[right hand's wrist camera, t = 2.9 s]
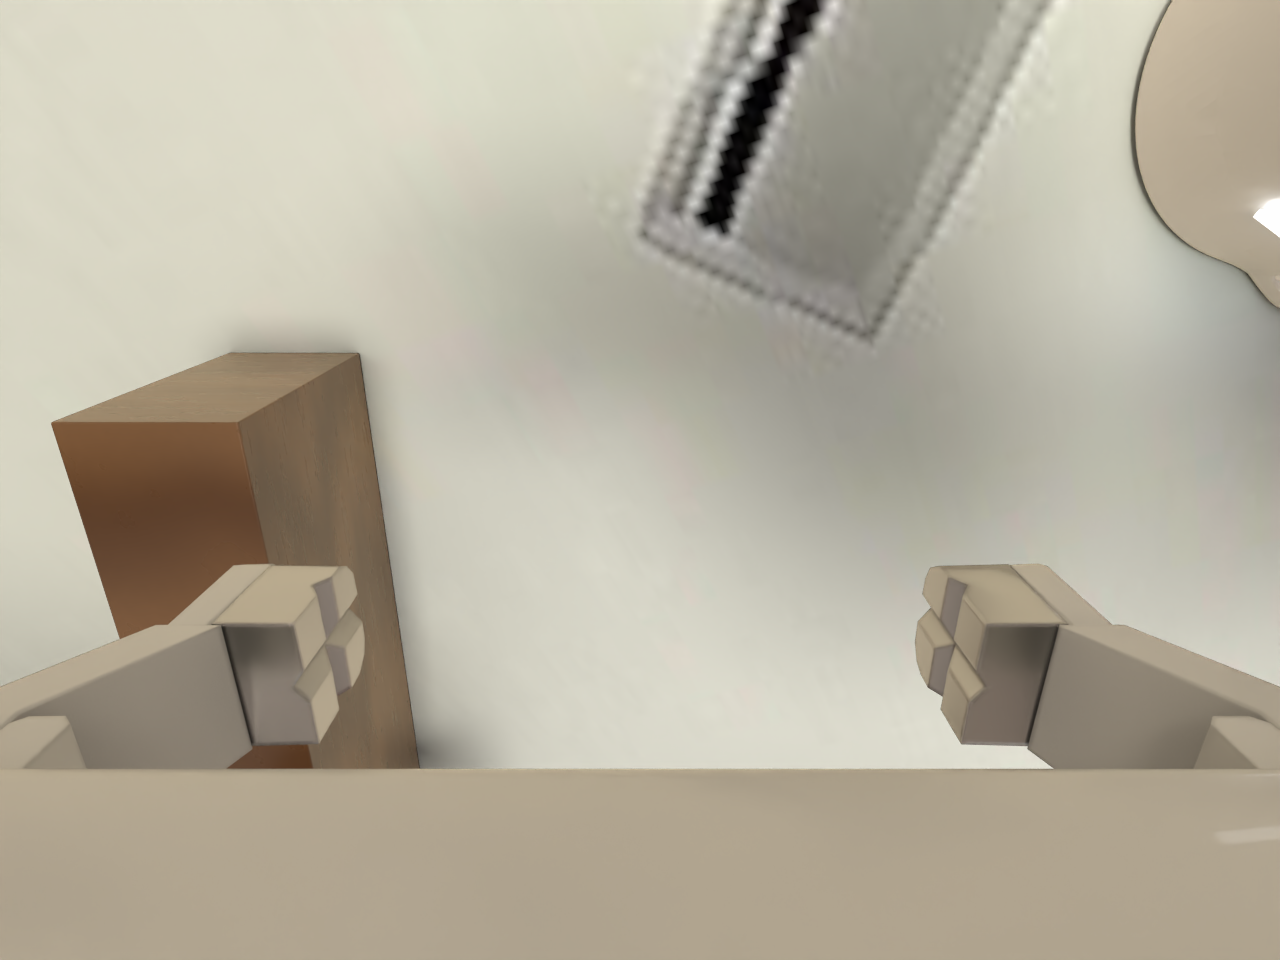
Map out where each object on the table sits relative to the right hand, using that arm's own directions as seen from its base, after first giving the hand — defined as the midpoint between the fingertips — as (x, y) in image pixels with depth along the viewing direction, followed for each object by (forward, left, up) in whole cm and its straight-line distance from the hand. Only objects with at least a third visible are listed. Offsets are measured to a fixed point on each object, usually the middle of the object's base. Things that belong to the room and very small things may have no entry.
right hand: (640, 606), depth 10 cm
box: (+19, +10, -24) cm, 33 cm away
